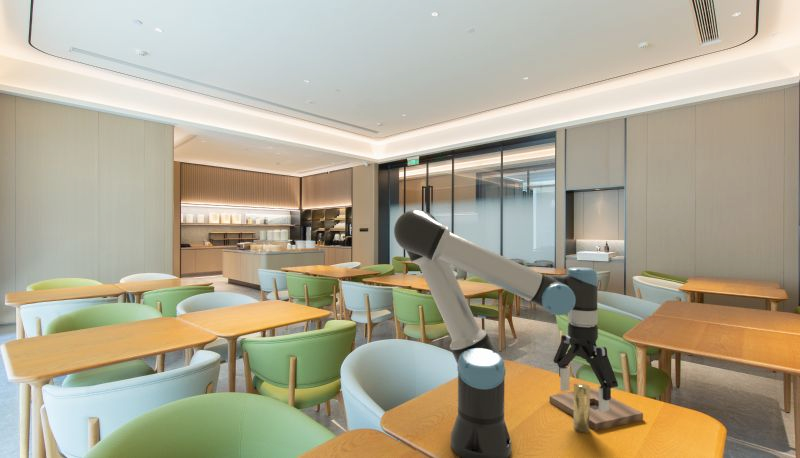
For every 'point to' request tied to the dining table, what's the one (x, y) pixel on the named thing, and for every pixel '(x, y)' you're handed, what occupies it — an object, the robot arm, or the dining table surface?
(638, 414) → the board
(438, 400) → the dining table surface
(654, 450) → the dining table surface
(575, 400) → the pin
